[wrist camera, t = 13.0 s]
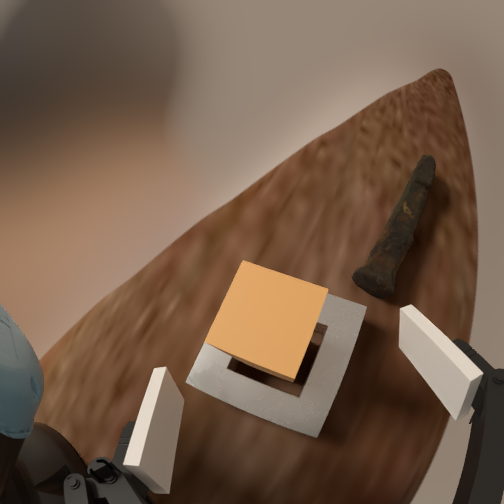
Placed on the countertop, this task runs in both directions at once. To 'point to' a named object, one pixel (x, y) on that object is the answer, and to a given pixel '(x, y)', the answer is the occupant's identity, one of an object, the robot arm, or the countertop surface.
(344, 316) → the square frame
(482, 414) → the robot arm
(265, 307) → the orange rectangular block
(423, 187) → the hand tool
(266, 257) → the countertop surface
